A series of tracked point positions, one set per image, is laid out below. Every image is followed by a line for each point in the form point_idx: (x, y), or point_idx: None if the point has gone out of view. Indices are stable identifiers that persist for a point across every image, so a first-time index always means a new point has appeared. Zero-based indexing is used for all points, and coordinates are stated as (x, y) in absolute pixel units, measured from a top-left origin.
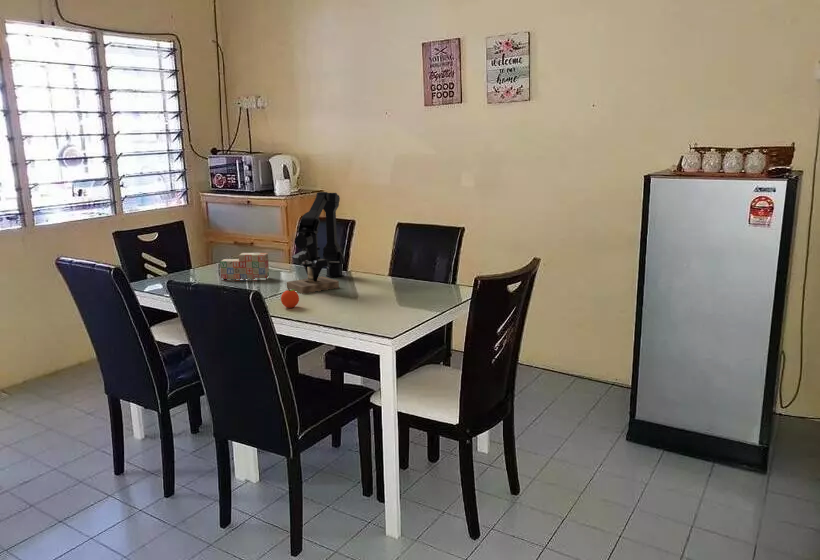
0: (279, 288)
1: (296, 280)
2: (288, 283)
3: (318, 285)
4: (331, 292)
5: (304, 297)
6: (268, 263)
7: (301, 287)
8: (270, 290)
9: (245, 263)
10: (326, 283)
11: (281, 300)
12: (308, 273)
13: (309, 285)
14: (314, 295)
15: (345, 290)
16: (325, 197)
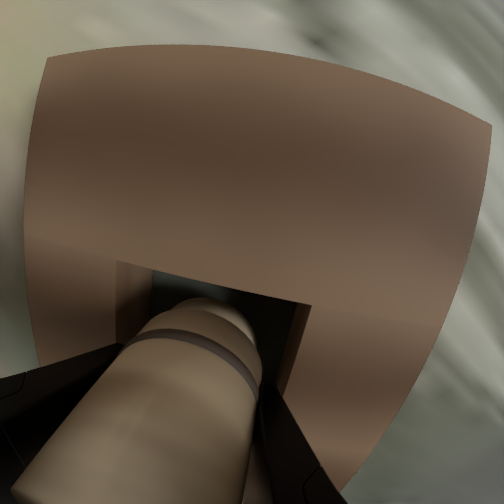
0: (498, 106)
1: (453, 281)
2: (439, 105)
3: (33, 274)
4: (7, 287)
5: (24, 48)
6: None
7: (60, 56)
8: (477, 10)
9: None
10: (40, 360)
11: None
12: (140, 401)
13: (40, 172)
14: (7, 136)
15: (19, 371)
16: None
